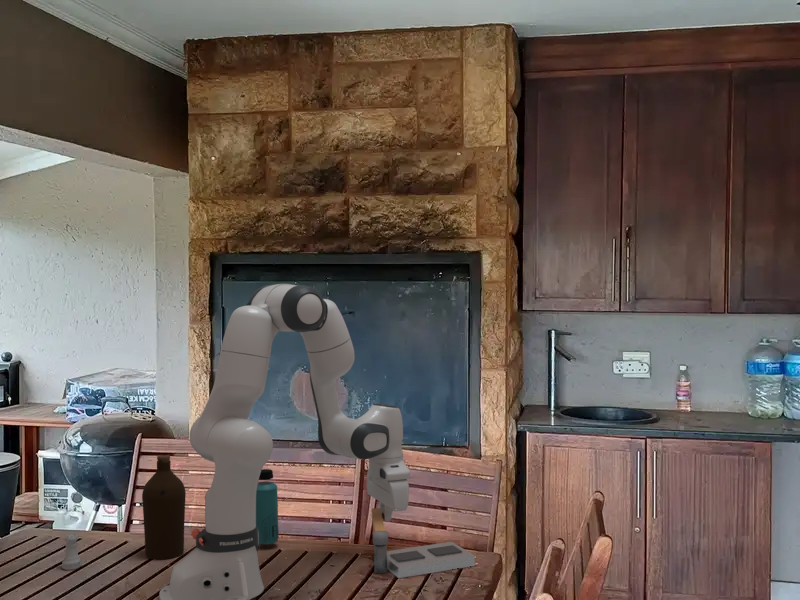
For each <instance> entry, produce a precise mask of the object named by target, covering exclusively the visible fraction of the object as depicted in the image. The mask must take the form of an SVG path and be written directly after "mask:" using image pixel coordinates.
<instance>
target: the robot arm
mask: <svg viewBox="0 0 800 600" xmlns="http://www.w3.org/2000/svg"><path fill="white" fill-rule="evenodd" d="M338 307H339V306H337V304H336V303H335V302H334V301H332V300H331V299H328V298H323V296H322V295H321V294H320V293H319V292H318V291H317V290H315V288H312V287H310V286H307V285H303V284H300V285H299V284H298V285H297V284H291V283H277V284H266V285H263V286H260V287H259V288H258V289H255V291H253V293H252V294H251V296H250V297H249V299H248V302H247V303H246V304H245V305H243V306H242V305H241V306H239V307H237V308H236V309H235V310H233V312H232V313H231V315H230V318H229V320H228V323H227V325H226V329H225V332H224V334H223V338H222V339H223V340H222V342H221V343H222V344H221V346H220V347H221V348H220V353H219V357H218V358H219V359H218V364H217V367H216V368H217V369H216V374H215V378H214V383H213V387H212V389H211V392H210V395H209V397H208V398H207V401H206V404H205V406H204V408H203V410H202V412H201V414H200V416H198V417H197V418H196V419H195V420H194V422H193V423H192V424H191V427H190V429H189V435H188V438H189V443H190V446H191V447H192V449H194V451H195V452H196V453H197V454H198V455H199V456H200V457H201V458H202V459H205V460H207V461H209V462H213V463H214V474H213V479H212V482H211V486H210V487H209V489H207V491H206V492H205V496H204V512H205V513H204V521H205V522H204V524H205V527H204V528H203V529H202V530H200V529H198V528H194V529H192V531H191V534H190V535H191V536H192V539H194V540H195V546H196V547H195V548H193V549H192V550H191V551H189V552H188V553H187V554H186V555H185V556H184V557H183V558H181V559H180V560H179V561H178V562H177V563H175V565H174V566H173V568H172V570H171V574H170V577H169V578H170V579H169V584H167V585H165V586H163V587H162V588H161V589H160V591H159V595H158V599H159V600H251V599H254V598H256V597H257V596H259V595H261V594H262V593H263V592H264V590H265V586H264V583H263V579H262V576H261V572H260V571H261V570H260V566H259V564H260V563H259V559H258V558H259V556H258V551H259V546H260V544H259V533H258V526H256V491H257V485H258V483H259V480H260V479H259V477H260V473H261V470H262V469H264V466H265V465H266V464H268V462H269V460H270V459H271V457H272V455H273V450H274V442H273V441H274V440H273V438H272V435H271V433H270V432H269V431H268V430H267V429H266V428H264V427H263V426H262V425H261V424H259V423H258V422H256V421H253V420H251V419H249V416H250V414H251V411H252V409H253V407H254V405H255V404H256V402H257V401H258V400H259V399H260V398H261V397H262V395H263V394H264V392H265V389H266V384H267V383H266V382H267V376H268V371H269V367H270V366H269V365H270V360H271V356H272V355H271V353H272V347H273V345H272V344H273V341H274V339H275V337H276V336H277V334H278V333H279V332H282V333H294V332H298V333H300V335H301V337H302V339H303V343H304V345H305V350H306V353H307V356H308V361H309V365H310V367H309V383H310V388H311V391H312V393H311V394H312V397H313V402H314V405H315V410H316V416H317V439H318V443H319V446H320V447H321V449H322V450H323V451H324V452H325V453H327V454H329V455H332V456H343V457H348V458H350V459H356V460H361V461H362V460H368V469H367V472H366V473H367V474H366V492H367V495H369V496H370V497H372V498H373V499H374V500H377V501H378V505H379V508H380V509H381V513H382V518H383V521H385V522H391V521H392V519H393V517H392V514H393V512H402V511H406V510H407V509H408V507H409V495H410V488H409V487H410V485H409V481H408V480H409V479H410V478H411V471H410V469H409V468H408V466H407V465H406V463H405V462H406V461H405V460H404V451H403V448H402V447H403V446H402V444H403V440H404V425H403V415H402V411H401V409H400V408H399V407H397V406H396V405H391V404H385V403H379V402H378V403H372V404H371V406H370V408H369V409H368V410H367V411H366V412H365V413H364V414H363V415H361V416H360V417H358V418H351V417H348V416H347V415H346V414H345V413H344V412H343V411H342V408H341V404H340V400H339V394H338V389H337V380H338V379H340V378H341V377H343V376H345V375H346V374H347V373H348V372H349V371H350V370H351V368H352V366H353V365H354V363H355V359H356V358H355V348H354V345H353V340H352V339H351V335H350V332H349V329H348V327H347V325H346V322H345V320H344V317H343V315H342V312H341V311H340V309H339V308H338Z"/></svg>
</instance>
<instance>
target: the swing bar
mask: <svg viewBox="0 0 800 600" xmlns="http://www.w3.org/2000/svg"><path fill="white" fill-rule="evenodd" d="M371 522H372V530H373V532H372V544H373V545H374V544H375V545H386V544H387V545H388V544H389V532H388V531H386V530H385V529H386V528H385V523H384V520H383V518H382V513H381V509H380V507H379V508H378V507H376V508H373V507H372V508H371Z"/></svg>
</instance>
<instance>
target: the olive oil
mask: <svg viewBox="0 0 800 600" xmlns="http://www.w3.org/2000/svg"><path fill="white" fill-rule="evenodd" d="M156 459H157V461H156V471H155V473H154V474H153V475H152V476H151V477H150V478H149V479H148V481H147V482H146V483H145V484H144V486H143V490H142V494H141V500H142V501H141V502H142V513H143V514H142V515H143V517H142V518H143V531H144V550H145V551H144V552H145V553H144V555H145V557H146V558H147V559H149V560H156V561H157V560H170V559H174V558H177V557H180V556H182V555H183V554H184V553H185V552H184V551H185V517H186V515H185V513H186V487H185V484H184V482H183V481H182V480H181V479H180V478H179V477H178V476H177V475H176V474H175V473H174V472H173V471H172V469H171V465H172V464H171V456H170V454H159V455H157V456H156Z"/></svg>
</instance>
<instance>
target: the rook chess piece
mask: <svg viewBox="0 0 800 600" xmlns="http://www.w3.org/2000/svg"><path fill="white" fill-rule="evenodd" d="M63 540H64V542H65V545H64V546H65V554H64V557H63V560H62V562H61V564H62V565H61V568H62V569H63V570H65V571H73V570H74V571H75V570H78V569H79V568H81V566H82V563H81V562H82V560H81V558H80V555H79V553H78V547H77V546H78V540H79V536H78V533H76V532H73V533H72V532H71V533H66V534H65V537H64V538H63Z"/></svg>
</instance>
